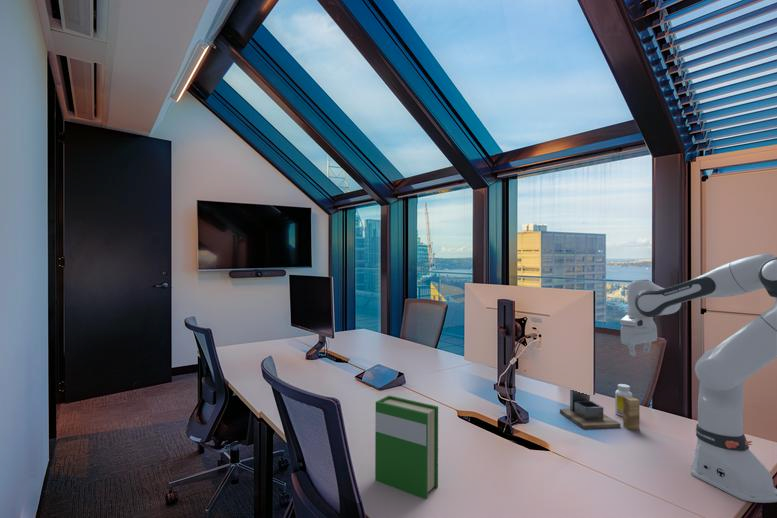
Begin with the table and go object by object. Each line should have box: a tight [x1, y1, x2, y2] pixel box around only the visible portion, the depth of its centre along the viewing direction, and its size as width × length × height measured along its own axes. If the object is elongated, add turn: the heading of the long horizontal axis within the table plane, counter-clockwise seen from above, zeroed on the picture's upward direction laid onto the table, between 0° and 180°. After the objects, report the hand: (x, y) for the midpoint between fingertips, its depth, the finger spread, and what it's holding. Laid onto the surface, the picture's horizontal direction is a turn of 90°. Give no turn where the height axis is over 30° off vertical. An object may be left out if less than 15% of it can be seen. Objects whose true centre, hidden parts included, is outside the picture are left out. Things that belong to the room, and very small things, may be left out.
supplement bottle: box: [614, 383, 633, 417], centre depth 178 cm, size 7×7×13 cm
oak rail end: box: [622, 396, 640, 431], centre depth 163 cm, size 4×4×12 cm
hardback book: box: [374, 395, 439, 500], centre depth 121 cm, size 18×7×24 cm, turn 56°
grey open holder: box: [569, 389, 604, 420], centre depth 173 cm, size 12×8×14 cm
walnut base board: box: [559, 408, 621, 430], centre depth 172 cm, size 18×16×2 cm
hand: (639, 354), depth 162 cm, fingers open, 8 cm apart
